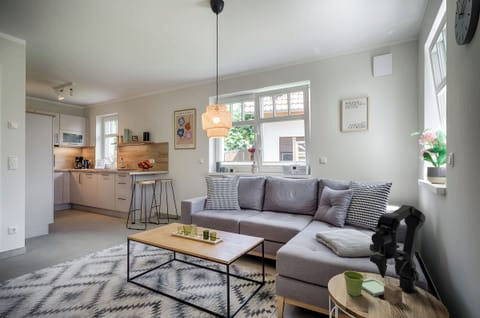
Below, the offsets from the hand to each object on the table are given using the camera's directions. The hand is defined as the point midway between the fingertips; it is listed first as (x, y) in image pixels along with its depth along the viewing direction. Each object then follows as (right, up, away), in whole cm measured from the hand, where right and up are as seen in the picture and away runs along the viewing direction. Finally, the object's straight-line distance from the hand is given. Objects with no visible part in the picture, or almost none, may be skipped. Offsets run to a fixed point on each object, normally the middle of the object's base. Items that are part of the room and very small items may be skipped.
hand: (390, 275), depth 112 cm
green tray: (-2, -11, +10) cm, 15 cm away
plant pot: (-14, -11, +5) cm, 19 cm away
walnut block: (+1, -11, -1) cm, 11 cm away
